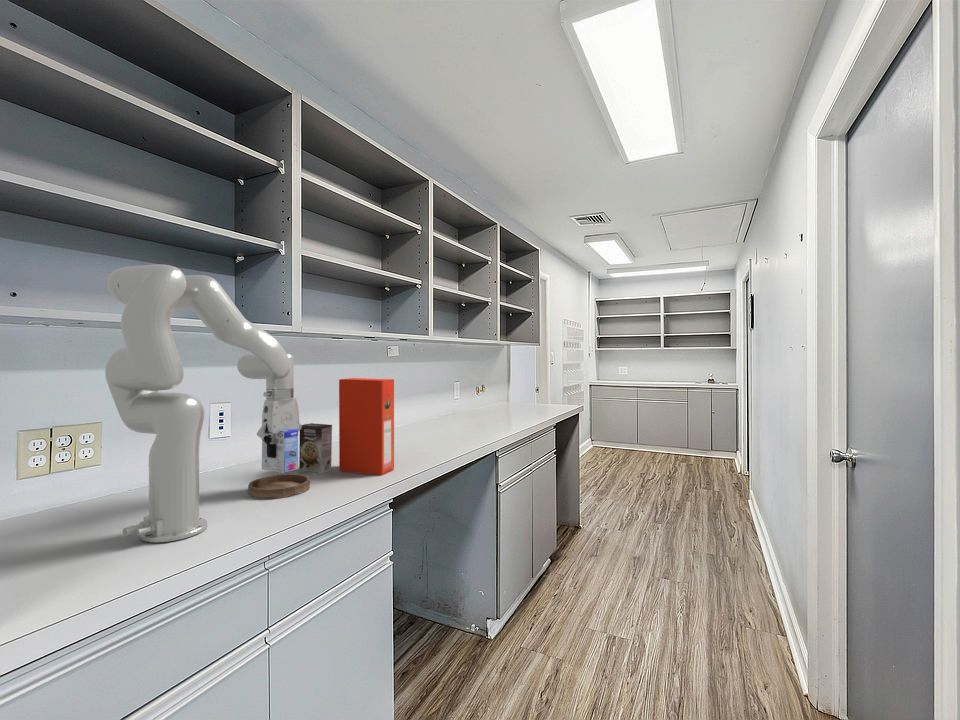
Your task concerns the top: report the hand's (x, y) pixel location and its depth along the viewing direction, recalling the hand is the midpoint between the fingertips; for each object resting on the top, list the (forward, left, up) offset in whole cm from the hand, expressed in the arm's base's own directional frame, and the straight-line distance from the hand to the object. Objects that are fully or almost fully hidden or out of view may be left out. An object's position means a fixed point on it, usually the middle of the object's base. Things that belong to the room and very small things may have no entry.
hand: (280, 454), depth 135 cm
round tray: (0, 0, -11) cm, 11 cm away
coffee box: (+21, +8, -11) cm, 25 cm away
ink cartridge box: (0, 0, -5) cm, 5 cm away
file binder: (+30, -7, -11) cm, 33 cm away
